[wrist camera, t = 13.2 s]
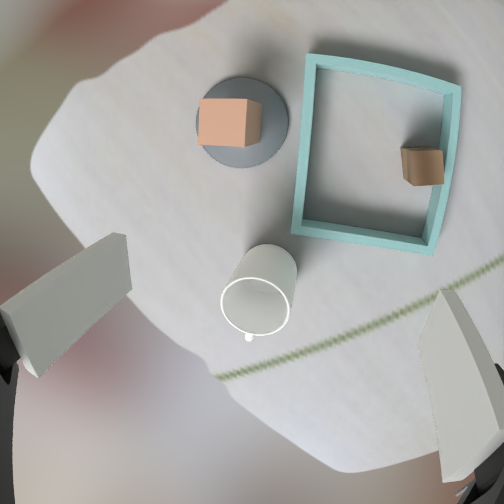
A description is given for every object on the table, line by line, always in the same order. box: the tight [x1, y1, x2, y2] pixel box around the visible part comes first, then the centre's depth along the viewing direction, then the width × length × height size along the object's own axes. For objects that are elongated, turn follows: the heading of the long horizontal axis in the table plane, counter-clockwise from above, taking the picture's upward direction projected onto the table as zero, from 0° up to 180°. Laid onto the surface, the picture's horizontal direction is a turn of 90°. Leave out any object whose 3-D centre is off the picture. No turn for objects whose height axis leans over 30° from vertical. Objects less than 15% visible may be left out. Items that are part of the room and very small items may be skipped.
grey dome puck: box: [196, 78, 288, 168], centre depth 36 cm, size 12×12×1 cm
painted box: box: [198, 99, 262, 147], centre depth 32 cm, size 5×5×8 cm
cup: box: [221, 244, 297, 341], centre depth 40 cm, size 8×12×10 cm
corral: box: [290, 53, 461, 256], centre depth 33 cm, size 19×22×3 cm
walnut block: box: [401, 146, 444, 186], centre depth 31 cm, size 4×4×5 cm
